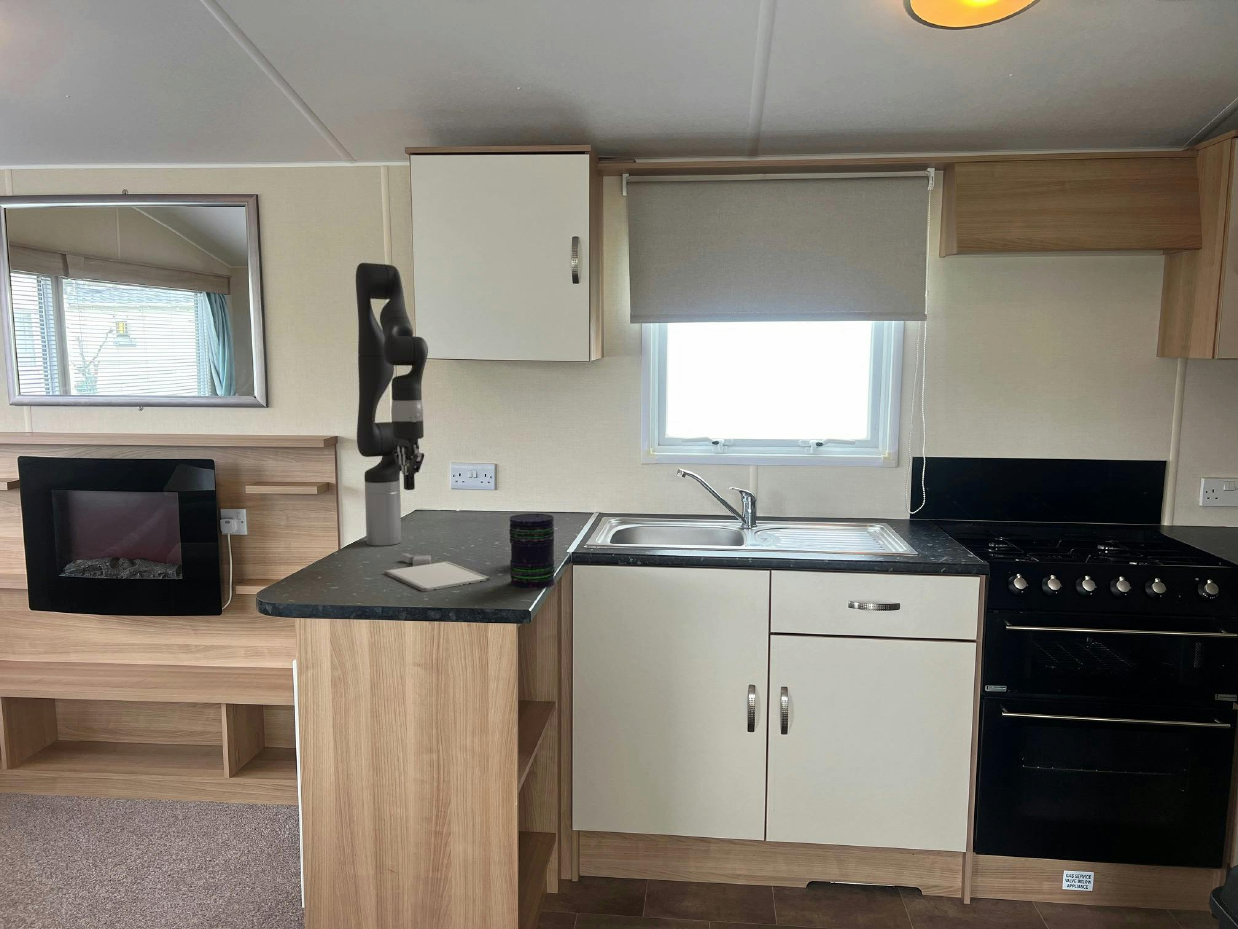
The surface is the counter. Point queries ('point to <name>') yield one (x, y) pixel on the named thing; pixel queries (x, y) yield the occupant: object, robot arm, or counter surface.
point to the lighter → (416, 559)
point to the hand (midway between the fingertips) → (409, 489)
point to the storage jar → (532, 551)
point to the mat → (436, 576)
